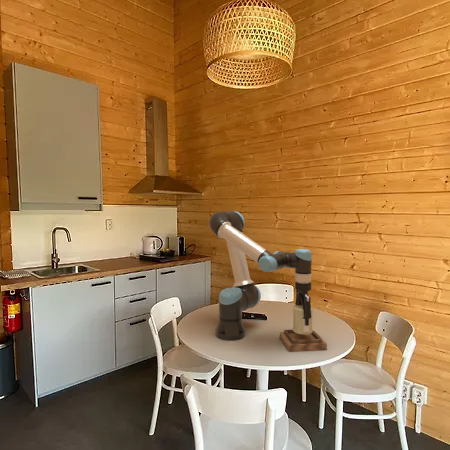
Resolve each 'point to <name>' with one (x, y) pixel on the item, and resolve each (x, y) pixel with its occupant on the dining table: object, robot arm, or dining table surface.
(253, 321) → the dining table surface
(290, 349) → the stand
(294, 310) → the can
